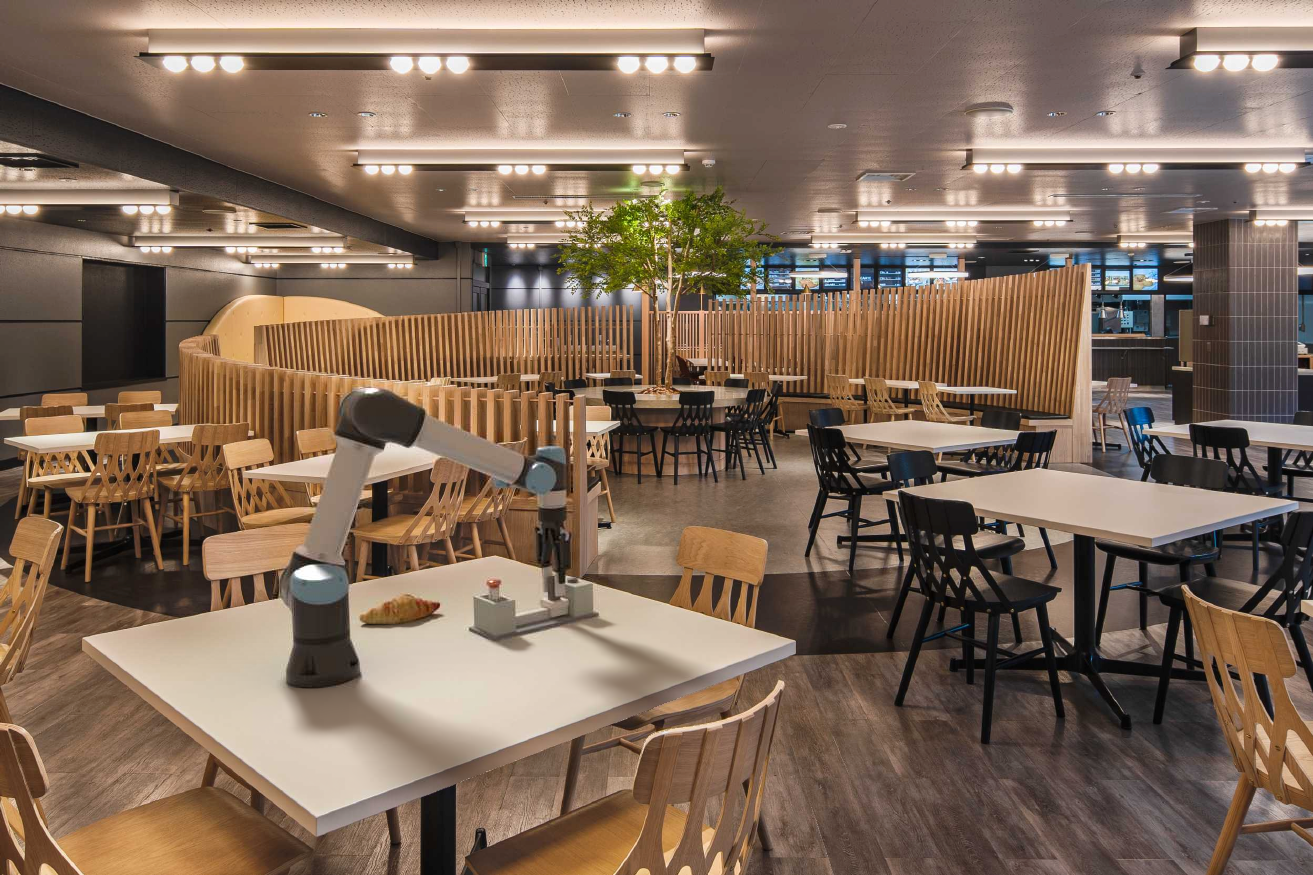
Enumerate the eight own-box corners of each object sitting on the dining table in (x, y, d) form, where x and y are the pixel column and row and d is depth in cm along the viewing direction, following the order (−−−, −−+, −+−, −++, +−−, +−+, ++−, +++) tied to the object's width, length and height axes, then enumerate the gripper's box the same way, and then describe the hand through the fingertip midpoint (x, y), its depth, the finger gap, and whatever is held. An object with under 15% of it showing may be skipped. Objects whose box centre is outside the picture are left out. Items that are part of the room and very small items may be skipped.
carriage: (553, 617, 236) (552, 580, 235) (540, 613, 241) (539, 576, 240) (568, 614, 239) (568, 577, 239) (555, 609, 244) (555, 573, 243)
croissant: (363, 641, 234) (365, 618, 230) (354, 615, 241) (355, 592, 237) (443, 626, 245) (446, 603, 241) (432, 601, 252) (435, 579, 248)
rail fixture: (493, 641, 221) (492, 602, 220) (468, 630, 230) (467, 593, 230) (598, 615, 242) (598, 580, 241) (572, 606, 251) (571, 572, 250)
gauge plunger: (492, 618, 226) (491, 583, 225) (484, 615, 228) (483, 580, 227) (504, 615, 228) (503, 581, 227) (497, 612, 231) (496, 578, 230)
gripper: (584, 508, 233) (585, 597, 235) (544, 500, 247) (546, 584, 249) (560, 511, 228) (562, 602, 230) (521, 503, 242) (523, 589, 244)
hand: (554, 593), depth 240 cm, fingers open, 5 cm apart
